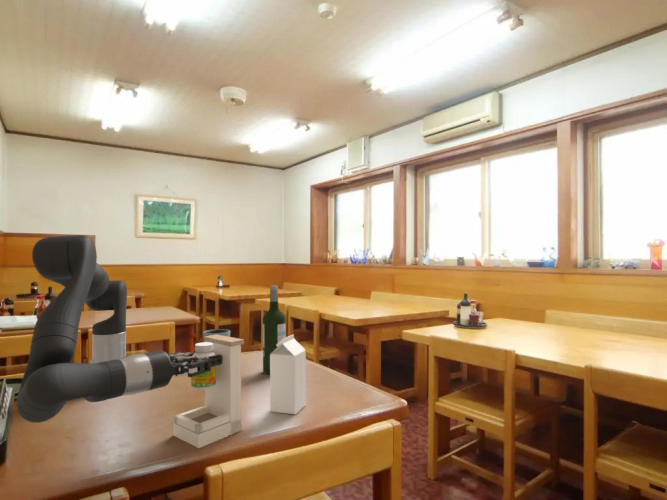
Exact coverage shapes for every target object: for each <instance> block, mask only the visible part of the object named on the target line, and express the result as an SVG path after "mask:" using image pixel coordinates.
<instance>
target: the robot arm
mask: <svg viewBox="0 0 667 500" xmlns="http://www.w3.org/2000/svg"><path fill="white" fill-rule="evenodd" d="M96 248H97V247H96V245H95V242H94V240H93V239H92V237H91V236H89V235H84V234H73V235H55V236H54V235H53V236H45V237H43V238H41V239H39V240H38V241H36V242H35V244H34V246H33V248H32V253H31V258H32V264H33V266H34V268H35V270H36V271H37V273H39V275H40V276H41V277H42V278H43V279H45V280H48V281H51V282H53V283H56V284H59V285H61V286H63V287H64V288H63V289H62V290H61V291H60V292H59V294H57V296H55V297H54V298H53V299H52V301H51V302H50V303H48V305H47V306H46V307H45V308H44V309H43V310H42V311H41V313H40V314H39V316H38V317H37V320H36V322H35V325H34V329H33V332H32V338H31V342H30V348H29V357H28V361H27V365H26V367H25V370H24V374H23V377H22V379H21V383H20V387H19V391H18V393H17V398H16V410H17V412H18V414H19V416H20V417H22V419H24V420H25V421H27V422H30V423H34V424H35V423H37V424H39V423H43V422H47V421H49V420H51V419H53V418H54V417H56V416H57V415H58V414H59V413H60V412H61V411H62V409H63V408H64V406H65V404H67V403H66V402H69V401H72V400H76V399H84V400H86V401H87V402H89V403H98V402H103V401H108V400H112V399H115V398H120V397H123V396H133V395H136V394H141V393H145V392H148V391H152V390H156V389H161V388H165V387H166V386H168V385H169V384H170V382H171V380H172V379H173V377H174V376H175V377H184V376H185V375H187V377H188V378H191V377H193V376H196V375H199V374H203V373H206V372H209V371H211V367H212V366H217V365H221V364H222V355H220V354H218V355H214V356H209V357H202V358H197V356H192V355H193V354H195V353H196V351H195V352H189V351H187V352H184V351H178V352H172V353H167V352H166V351H165V350H161V349H160V350H154V351H149V352H143V353H136V354H132V355H128V356H127V331H126V330H127V304H128V303H127V301H128V288H127V284H126V282H125V281H124V280H110V276H109V274H108V272H107V271H106V270H105V269H104V268H103V266H101V265H100V264H99V263H98V262H97V261H98V260H97V259H98V255H97V254H98V253H97V250H96ZM85 305H86V307H88V309H90V310H91V311H95V312H96V311H98V312H103V311H113V313H112V315H111V316H109V317H108V318H105V319H104V320H101V321H98V322H95V323H94V324H93V325H92V329H91V333H92V335H91V343H92V344H91V346H92V347H91V349H92V350H91V351H92V352H91V355H92V356H91V357H92V358H90V360H89V363H87V362H86V363H85V362H72V361H73V359H74V357H75V353H76V348H77V342H78V336H79V335H78V334H79V326H80V321H81V316H82V312H83V309H84V306H85ZM191 360H193V363H191Z"/></svg>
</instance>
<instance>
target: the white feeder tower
mask: <svg viewBox="0 0 667 500" xmlns="http://www.w3.org/2000/svg"><path fill="white" fill-rule="evenodd" d="M204 341H205V342H210V343H213V350H212V352H214V353H215V354H216V355H218V354H220V355H222V364H221V365H217V366H216V386H215V387H213V388H211V389H206V390H204V405H203V406H201V407H197V408H194V409H191V410H188V411H185V412H182V413H178V414H175V415H174V416H173V417H174V418H173V419H174V421H173V437H176V438H178V439H180V440H181V441H184V442H185V443H188V444H190V445H191V446H194V447H195V448H197V449H200V448H202V447H206V446H207V445H209V444H212V443H215V442H217V441H220V440H222V439H225V438H227V437H229V435H230V436H232V435H234V434H236V432H237V433H239V432H241V431H242V345H245V339H244V338H238V337H232V336H230V337H228V336H222V335H217V334H216V335H210V336H205V337H203V342H204ZM238 431H239V432H238ZM224 437H225V438H224ZM219 439H220V440H219Z"/></svg>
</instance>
